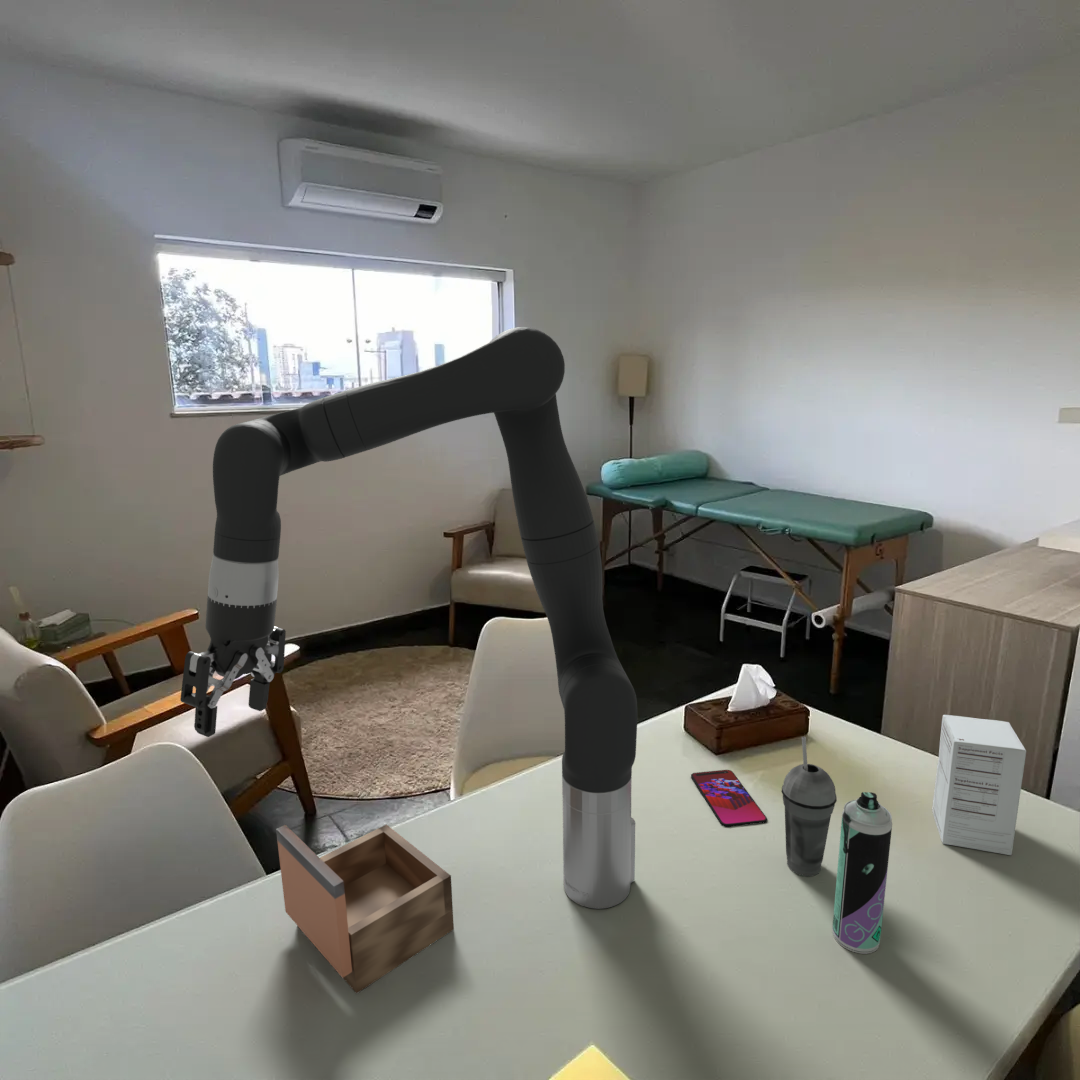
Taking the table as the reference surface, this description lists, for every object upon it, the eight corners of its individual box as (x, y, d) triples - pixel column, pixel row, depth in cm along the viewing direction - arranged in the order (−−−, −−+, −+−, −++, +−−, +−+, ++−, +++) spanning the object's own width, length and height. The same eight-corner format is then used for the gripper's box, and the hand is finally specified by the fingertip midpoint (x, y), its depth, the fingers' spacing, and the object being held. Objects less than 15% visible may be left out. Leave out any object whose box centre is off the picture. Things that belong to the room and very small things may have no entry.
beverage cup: (835, 886, 100) (846, 754, 96) (779, 879, 102) (788, 749, 97) (826, 852, 107) (836, 727, 103) (774, 846, 109) (781, 723, 104)
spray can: (858, 960, 88) (873, 812, 83) (822, 930, 93) (834, 789, 88) (889, 943, 90) (905, 799, 86) (852, 915, 95) (865, 777, 90)
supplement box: (1013, 857, 106) (1029, 751, 102) (941, 845, 108) (954, 741, 105) (996, 819, 114) (1010, 720, 110) (930, 808, 117) (941, 712, 113)
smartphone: (722, 825, 113) (689, 772, 128) (722, 830, 114) (689, 777, 128) (769, 820, 115) (731, 768, 129) (769, 825, 115) (731, 773, 129)
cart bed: (390, 873, 105) (386, 824, 103) (453, 929, 94) (450, 875, 92) (297, 925, 95) (291, 871, 93) (356, 993, 85) (351, 934, 83)
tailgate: (294, 907, 94) (285, 824, 91) (352, 971, 84) (343, 881, 81) (285, 911, 93) (276, 828, 91) (342, 977, 83) (333, 886, 80)
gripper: (223, 614, 77) (212, 754, 81) (308, 588, 91) (296, 709, 94) (168, 597, 80) (160, 734, 83) (259, 574, 93) (249, 692, 96)
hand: (232, 720), depth 88 cm, fingers open, 8 cm apart
